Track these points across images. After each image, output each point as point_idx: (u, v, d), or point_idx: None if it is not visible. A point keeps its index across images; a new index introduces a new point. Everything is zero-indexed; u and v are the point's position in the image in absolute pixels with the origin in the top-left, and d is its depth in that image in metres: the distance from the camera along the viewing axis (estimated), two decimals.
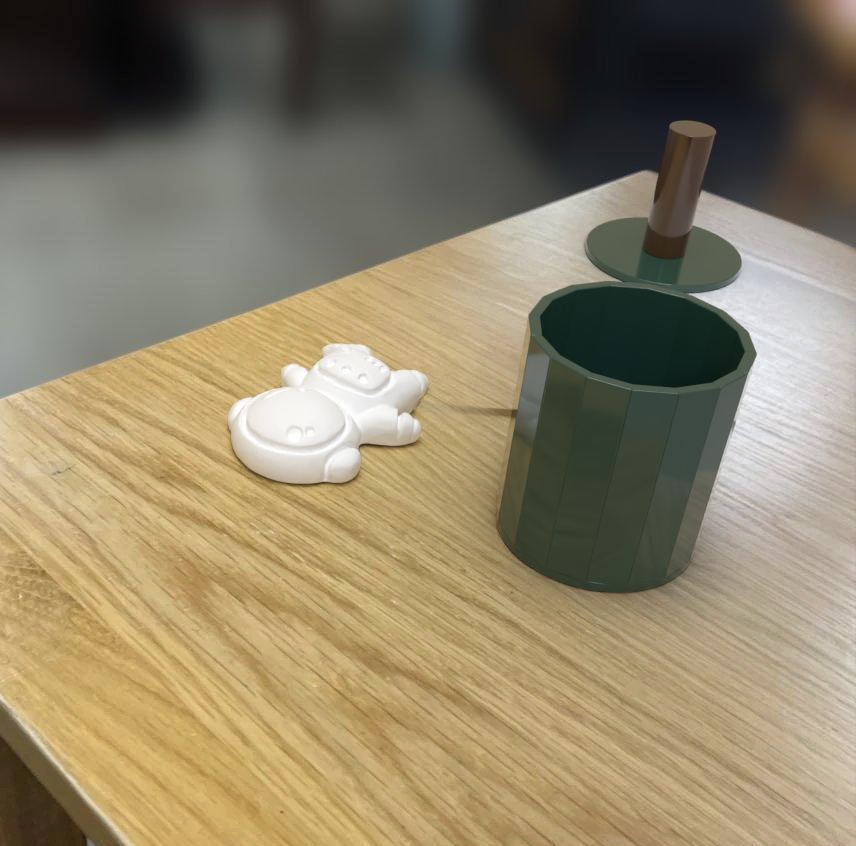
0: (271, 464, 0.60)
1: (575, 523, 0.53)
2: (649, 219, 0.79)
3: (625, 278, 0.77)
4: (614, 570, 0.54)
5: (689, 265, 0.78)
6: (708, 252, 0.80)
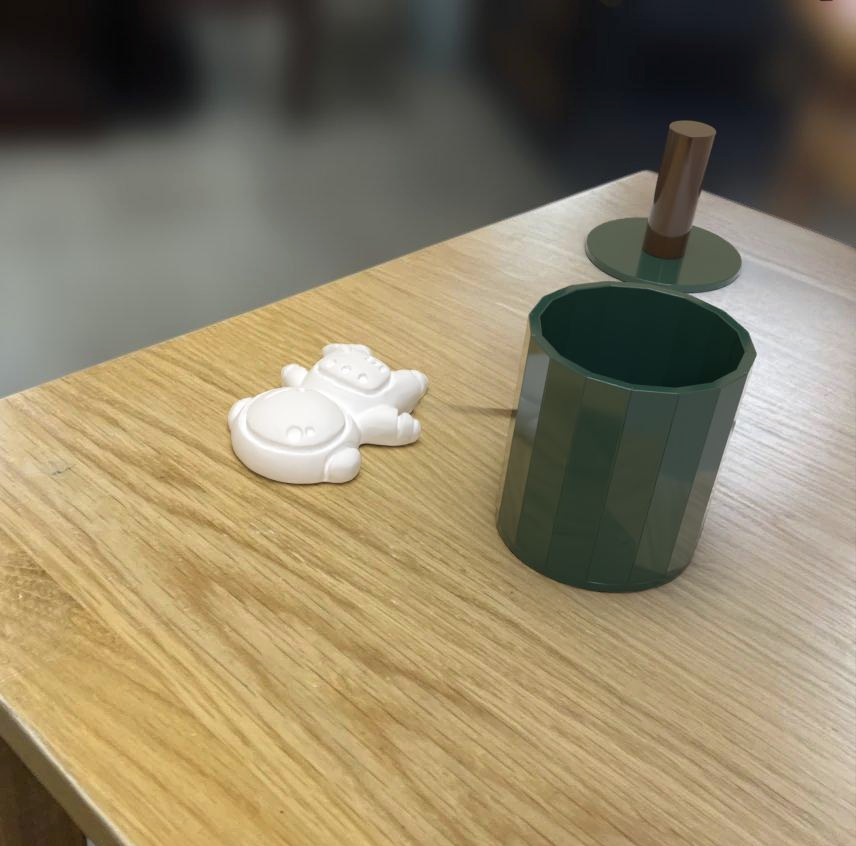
0: (271, 464, 0.60)
1: (575, 523, 0.53)
2: (649, 219, 0.79)
3: (625, 278, 0.77)
4: (614, 570, 0.54)
5: (689, 265, 0.78)
6: (708, 252, 0.80)
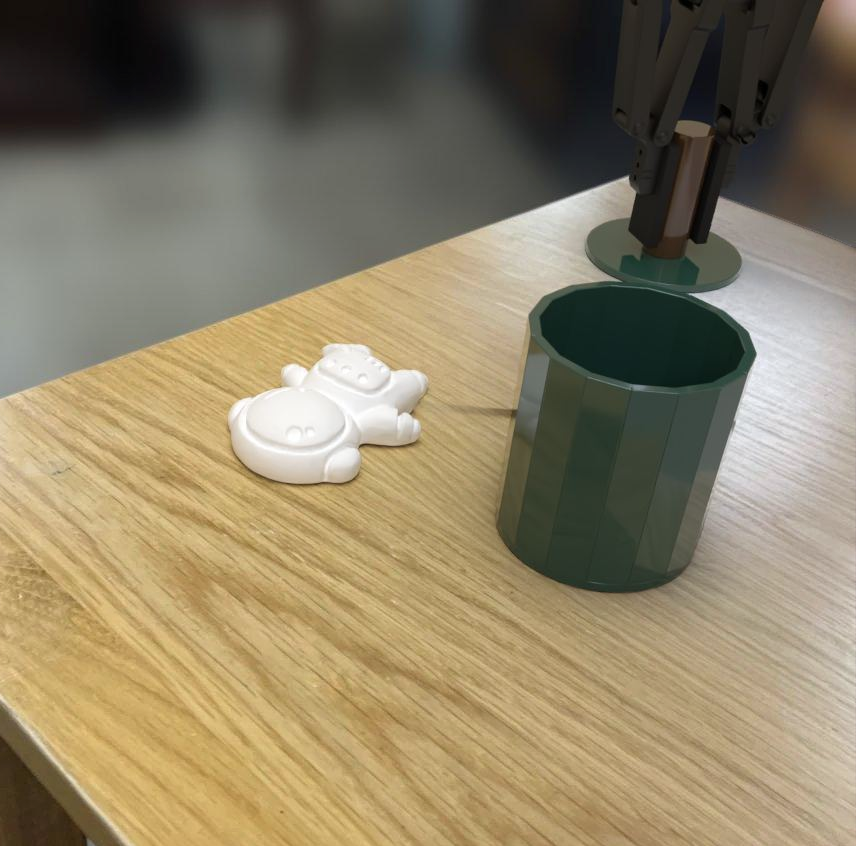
0: (271, 464, 0.60)
1: (575, 523, 0.53)
2: None
3: (625, 278, 0.77)
4: (614, 570, 0.54)
5: (689, 265, 0.78)
6: (708, 252, 0.80)
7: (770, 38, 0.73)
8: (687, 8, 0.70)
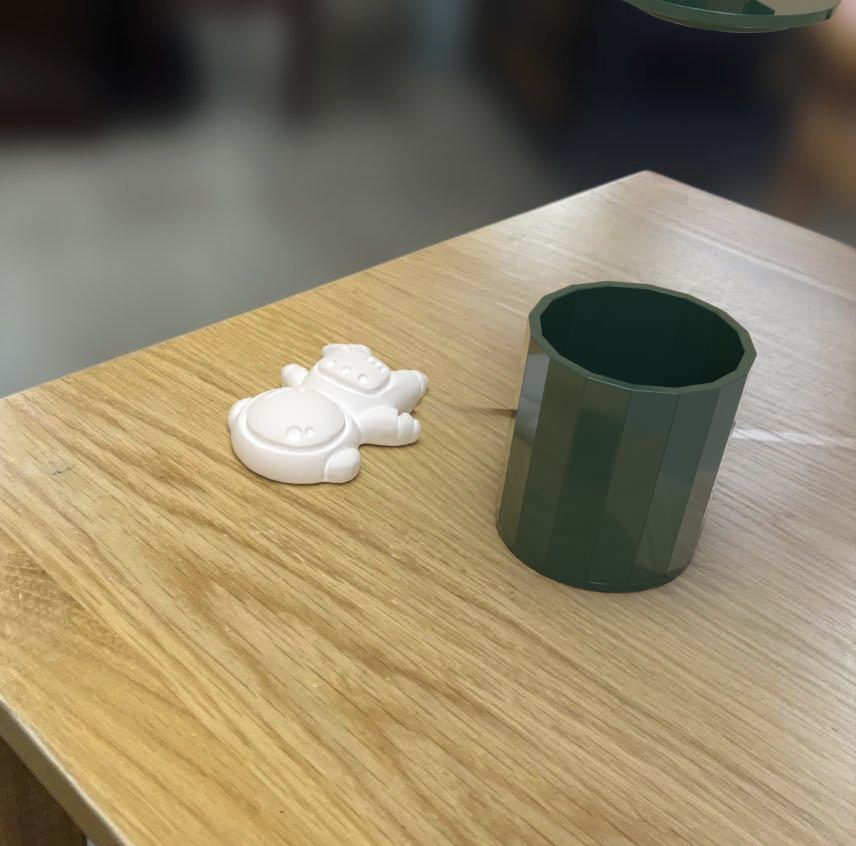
0: (271, 464, 0.60)
1: (575, 523, 0.53)
2: None
3: (662, 8, 0.49)
4: (614, 570, 0.54)
5: None
6: None
7: None
8: None
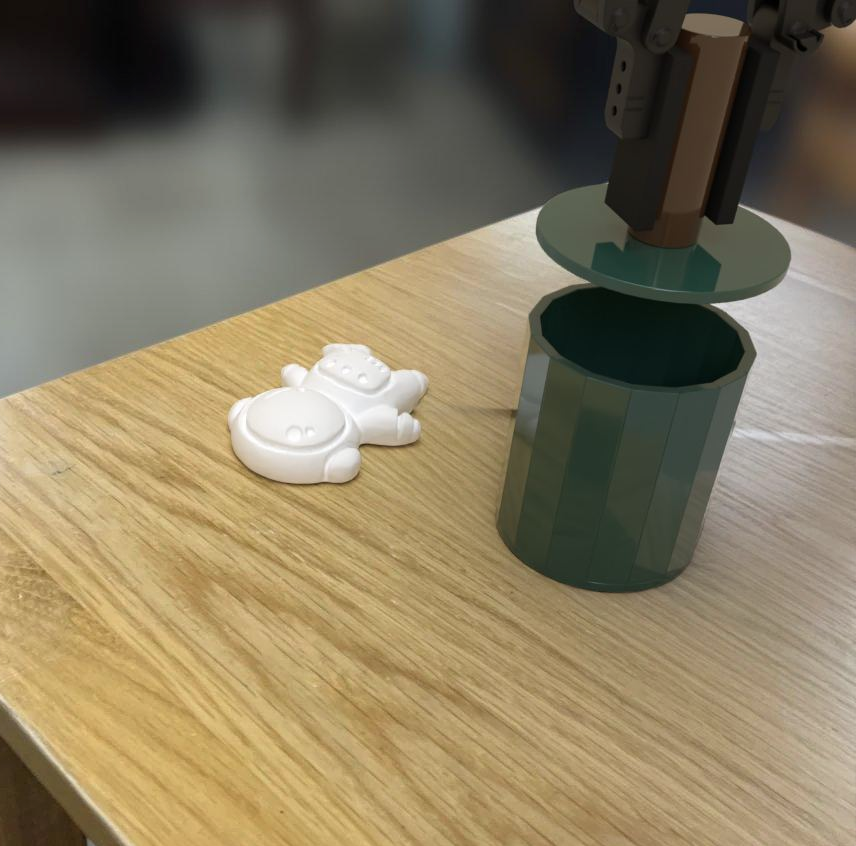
0: (271, 464, 0.60)
1: (575, 523, 0.53)
2: None
3: (598, 280, 0.46)
4: (614, 570, 0.54)
5: (705, 258, 0.47)
6: (736, 237, 0.49)
7: None
8: None
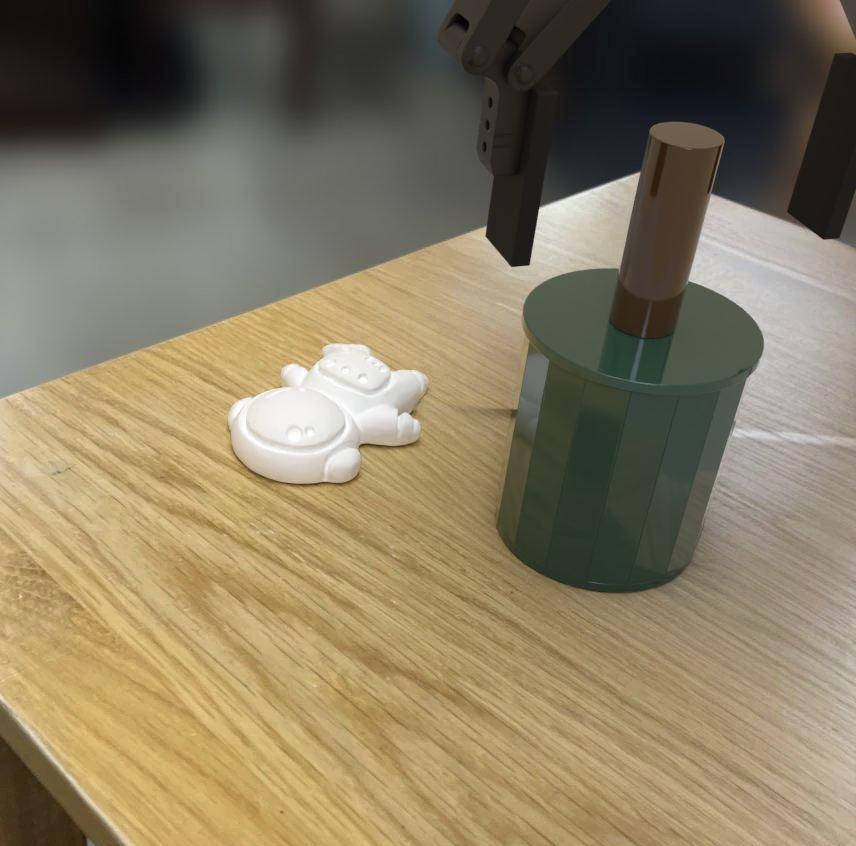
0: (271, 464, 0.60)
1: (575, 523, 0.53)
2: (619, 277, 0.50)
3: (580, 372, 0.49)
4: (614, 570, 0.54)
5: (682, 349, 0.50)
6: (712, 326, 0.51)
7: None
8: None
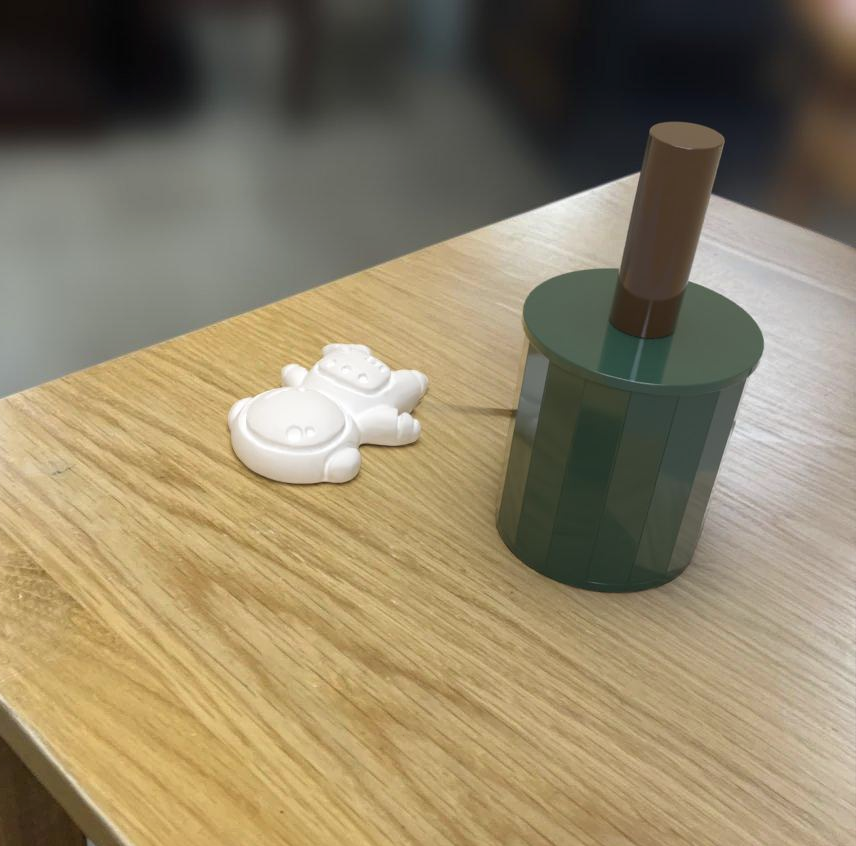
0: (271, 464, 0.60)
1: (575, 523, 0.53)
2: (619, 277, 0.50)
3: (580, 372, 0.49)
4: (614, 570, 0.54)
5: (682, 349, 0.50)
6: (712, 326, 0.51)
7: None
8: None
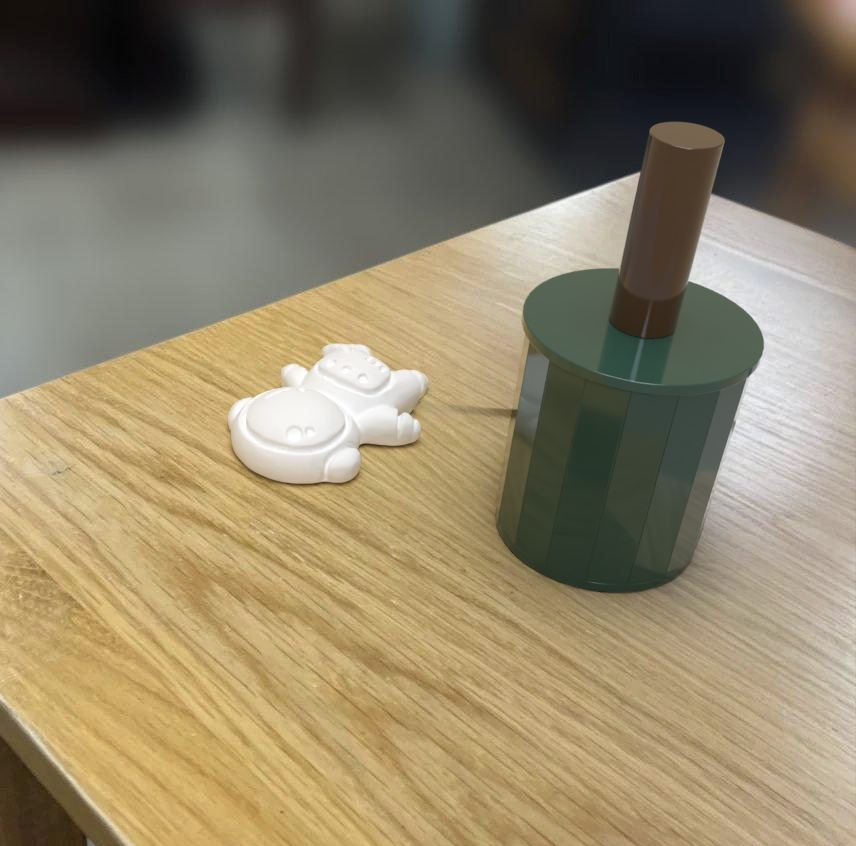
0: (271, 464, 0.60)
1: (575, 523, 0.53)
2: (619, 277, 0.50)
3: (580, 372, 0.49)
4: (614, 570, 0.54)
5: (682, 349, 0.50)
6: (712, 326, 0.51)
7: None
8: None
